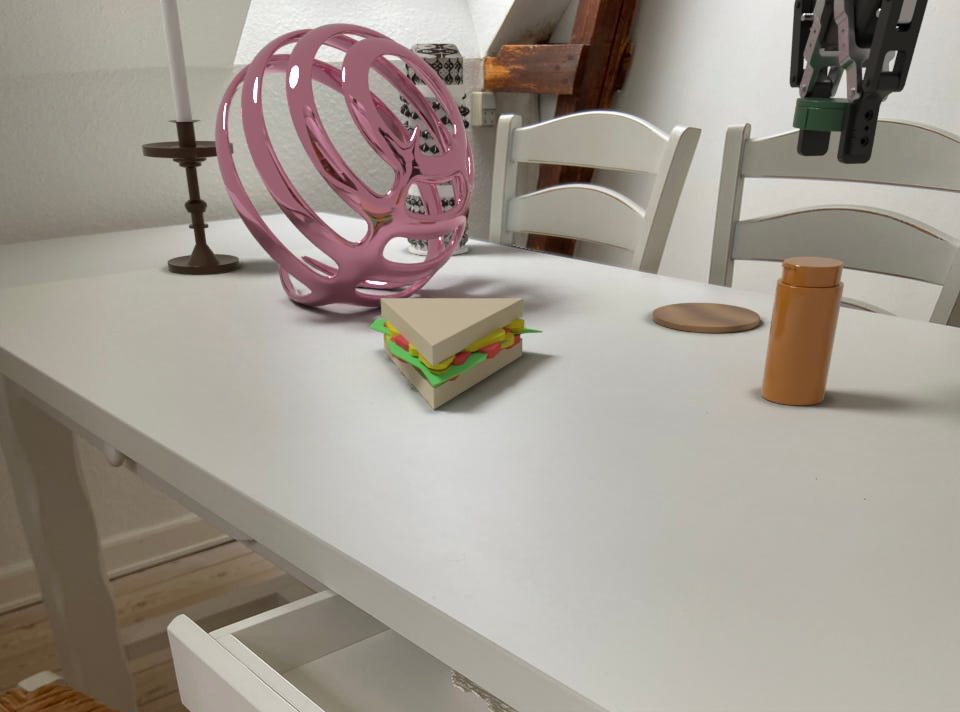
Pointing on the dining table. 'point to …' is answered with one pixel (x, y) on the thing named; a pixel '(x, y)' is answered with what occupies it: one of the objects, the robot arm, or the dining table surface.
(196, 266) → the candlestick
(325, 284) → the spiral basket
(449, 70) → the decorative candle
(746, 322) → the coaster
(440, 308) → the sandwich
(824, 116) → the lid
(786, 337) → the jar
